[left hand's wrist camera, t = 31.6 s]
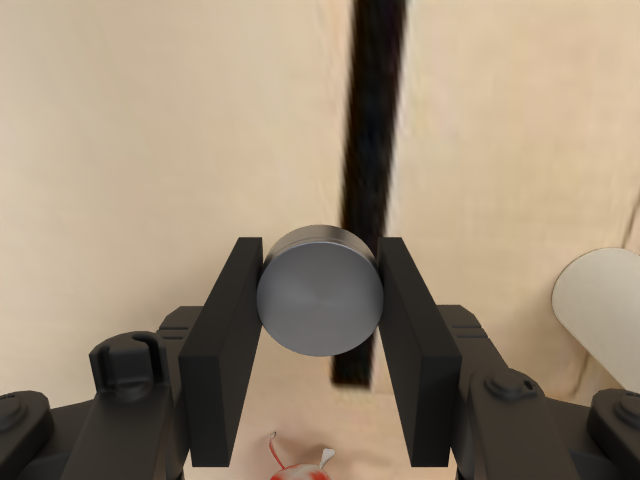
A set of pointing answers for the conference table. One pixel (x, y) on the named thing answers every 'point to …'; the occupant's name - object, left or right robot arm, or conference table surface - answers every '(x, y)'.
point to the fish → (302, 467)
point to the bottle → (604, 310)
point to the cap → (320, 291)
